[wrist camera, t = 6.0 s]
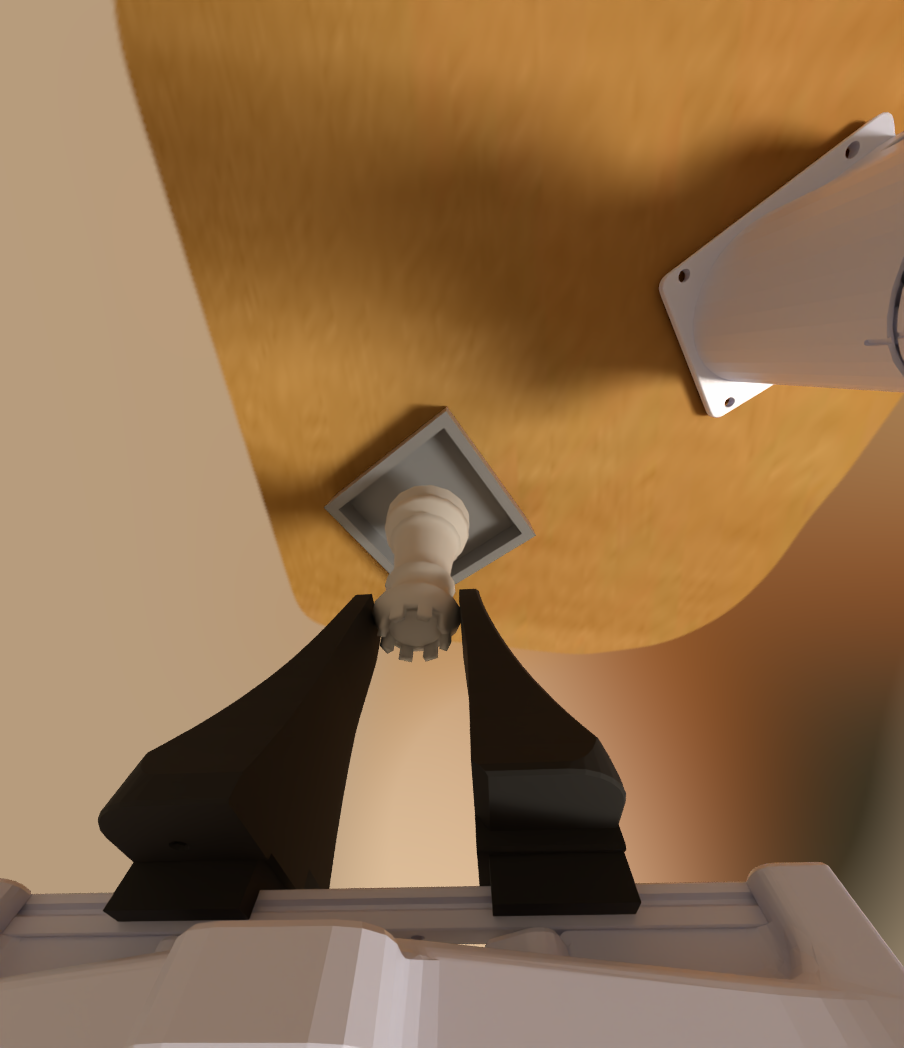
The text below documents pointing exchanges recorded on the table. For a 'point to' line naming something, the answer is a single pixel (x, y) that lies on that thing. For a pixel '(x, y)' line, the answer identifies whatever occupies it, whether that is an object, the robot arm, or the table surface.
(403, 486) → the tray
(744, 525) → the table surface
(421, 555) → the rook chess piece
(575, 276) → the table surface
